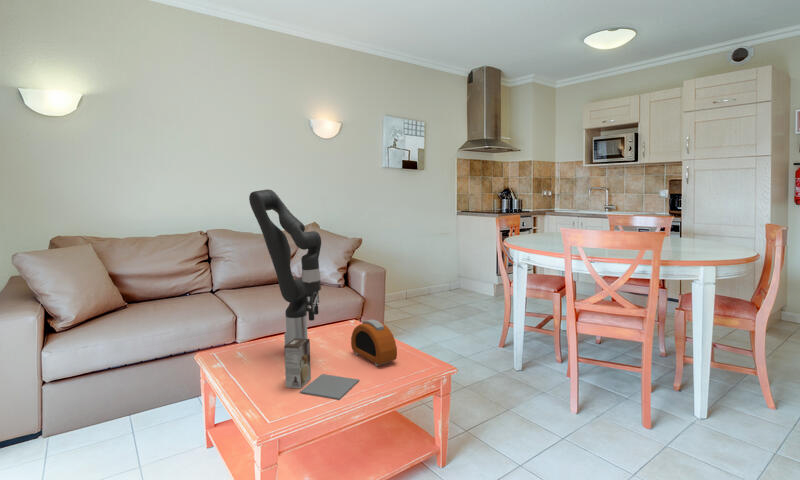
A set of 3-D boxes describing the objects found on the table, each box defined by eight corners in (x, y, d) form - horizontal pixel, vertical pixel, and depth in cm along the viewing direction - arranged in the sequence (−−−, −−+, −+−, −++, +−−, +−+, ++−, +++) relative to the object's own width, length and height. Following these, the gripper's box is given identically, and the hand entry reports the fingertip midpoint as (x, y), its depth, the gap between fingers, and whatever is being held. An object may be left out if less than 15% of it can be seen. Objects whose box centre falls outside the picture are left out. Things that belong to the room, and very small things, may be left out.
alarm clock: (350, 352, 195) (349, 316, 193) (367, 348, 201) (366, 313, 199) (380, 369, 177) (379, 329, 175) (397, 364, 182) (397, 325, 180)
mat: (299, 393, 156) (299, 391, 156) (322, 375, 171) (322, 373, 171) (339, 399, 151) (339, 398, 151) (359, 381, 166) (359, 379, 166)
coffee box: (296, 377, 170) (294, 337, 168) (311, 378, 168) (310, 338, 167) (285, 387, 161) (283, 345, 159) (301, 389, 159) (300, 346, 158)
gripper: (306, 276, 188) (308, 312, 190) (298, 283, 174) (301, 322, 176) (323, 275, 188) (325, 312, 190) (316, 282, 174) (319, 321, 176)
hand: (313, 317), depth 183 cm, fingers open, 8 cm apart
